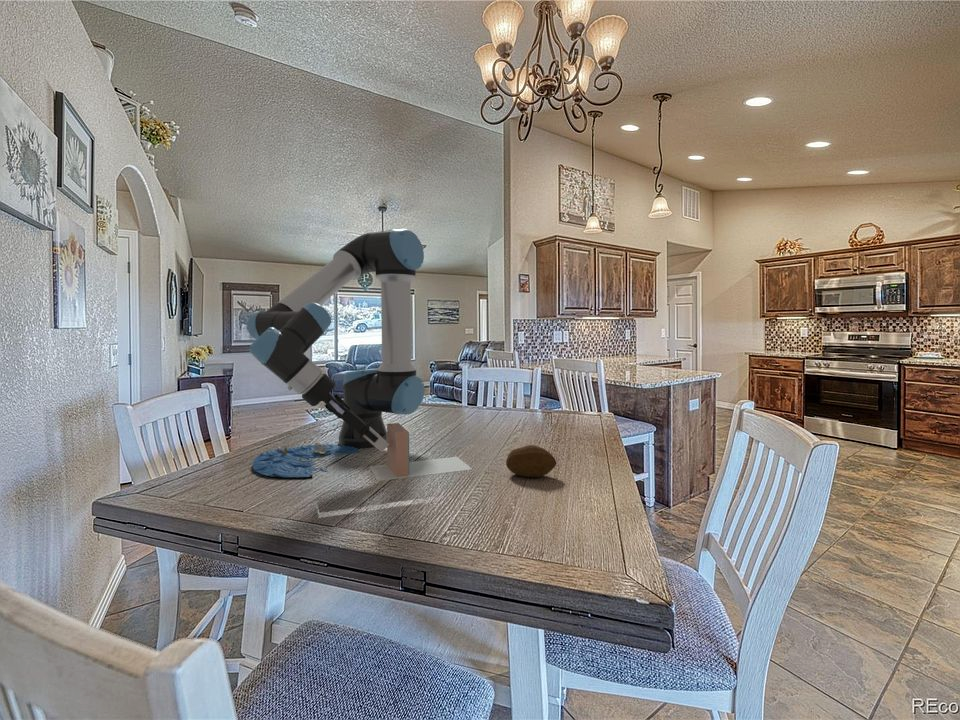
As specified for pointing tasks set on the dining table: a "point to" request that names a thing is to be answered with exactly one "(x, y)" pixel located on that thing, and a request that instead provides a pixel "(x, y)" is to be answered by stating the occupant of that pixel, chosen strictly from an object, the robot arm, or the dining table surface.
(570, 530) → the dining table surface
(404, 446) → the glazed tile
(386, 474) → the grey rubber mat
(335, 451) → the decorative plate
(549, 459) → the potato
